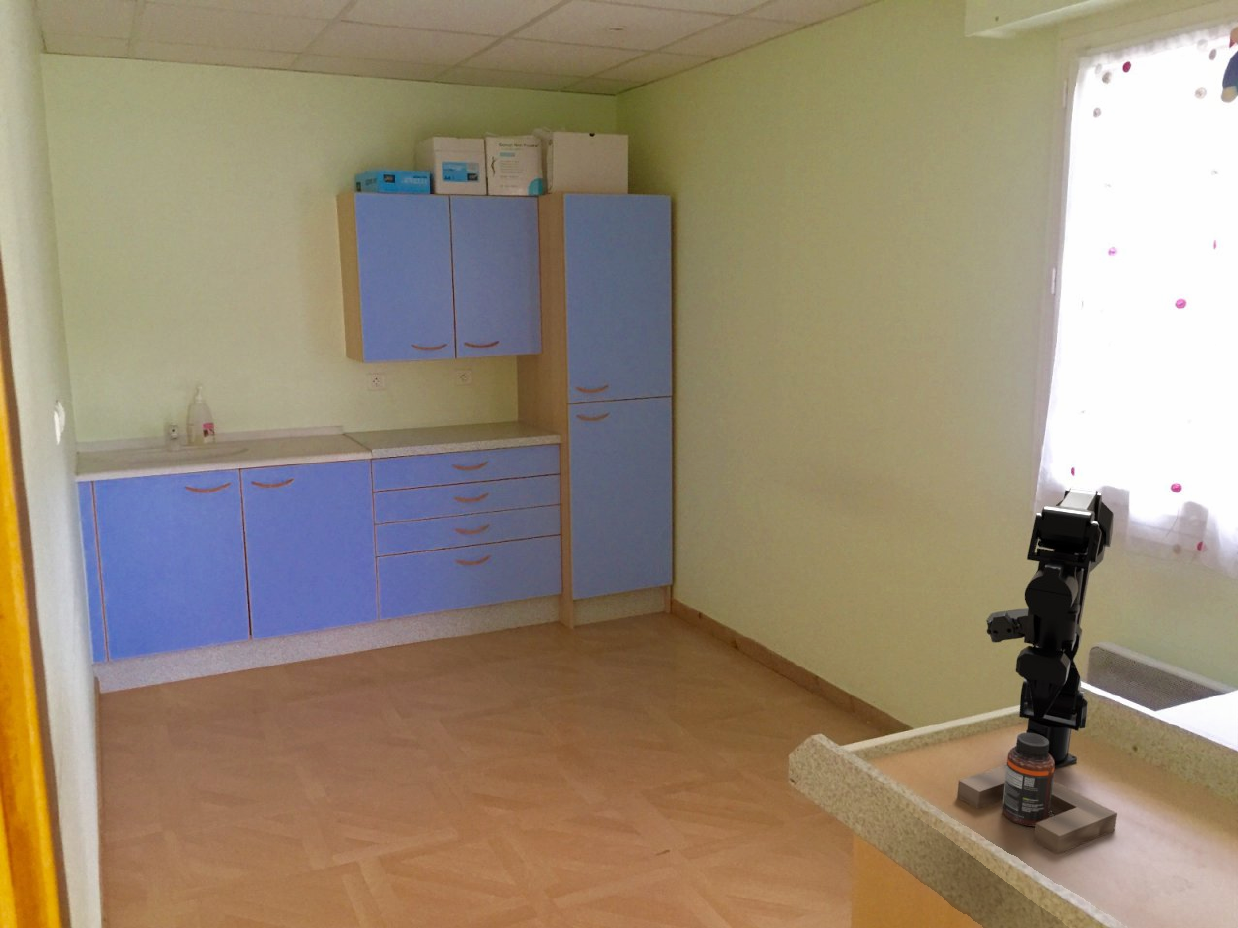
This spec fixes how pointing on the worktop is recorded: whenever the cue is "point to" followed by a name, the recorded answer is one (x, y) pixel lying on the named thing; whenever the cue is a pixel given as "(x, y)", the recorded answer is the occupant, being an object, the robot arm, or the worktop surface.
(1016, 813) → the supplement bottle
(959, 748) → the worktop surface
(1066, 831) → the notched board
